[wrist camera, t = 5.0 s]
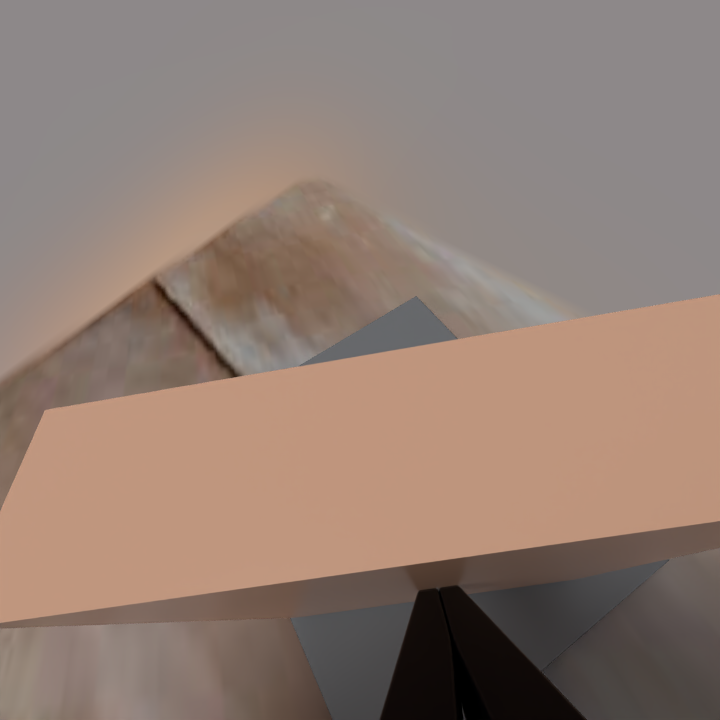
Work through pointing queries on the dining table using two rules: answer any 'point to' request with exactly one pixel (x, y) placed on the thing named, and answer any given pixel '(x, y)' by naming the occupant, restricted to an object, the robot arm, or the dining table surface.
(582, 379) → the block
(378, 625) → the mat
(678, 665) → the dining table surface
